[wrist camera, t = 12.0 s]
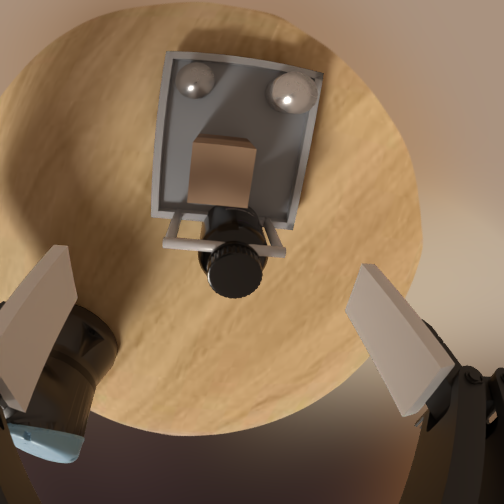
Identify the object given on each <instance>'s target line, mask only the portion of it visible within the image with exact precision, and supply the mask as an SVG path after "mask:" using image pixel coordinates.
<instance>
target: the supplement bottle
mask: <svg viewBox="0 0 504 504" xmlns="http://www.w3.org/2000/svg"><path fill="white" fill-rule="evenodd" d="M200 240H209V241H221V242H225V243H223V244H221V245H219V246H218V247H216V248H215V249H214V250H213V251H212V252H205V251H198V260H199V263H200V266H201V268H202V270H203V271H204V273H205V274H206V275H207V278H208V282H209V283H210V286H211V287H212V289H213V290H214V291H215V292H216V293H218V294H219V295H221V296H224V297H228V298H235V299H236V298H242V297H246V296H247V295H250V294H251V293H252V292H254V291H255V289H257V288H258V286H259V285H260V282H261V280H262V276H263V274H262V271H263V270H264V268H265V266H266V263H267V260H268V257H267V256H259V254H258V253H257V251H256V250H255V249H254V248H253V247H251V246H250V245H248V244H256V245H267V242H266V239H265V236H264V233H263V230H262V226H261V223H260V221H259V218H258V215H257V214H256V212H255V211H254V210H253V209H252V208H251V207H249V206H248V208H240V207H230V206H220V205H216V206H214V207H213V208H212V209H210V210H209V211H208V215H207V217H206V218H205V220H204V222H202V228H201V234H200Z"/></svg>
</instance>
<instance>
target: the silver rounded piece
mask: <svg viewBox="0 0 504 504" xmlns="http://www.w3.org/2000/svg"><path fill="white" fill-rule="evenodd" d="M265 97H266V101H267V103H268V104H269V105H270V107H271V108H273V109H274V110H276V111H278V112H284V113H292V114H301V113H305V112H307V111H309V110H310V109H311V108H312V107H313V106H314V105H315V103H316V101H317V98H318V90H317V86H316V84H315V82H314V81H313V80H312V79H311V78H310V77H309V76H308V75H306V74H304V73H301V72H288V73H286V74H283V75H281V76H279V77H277V78H275V79H273V80H272V81H270V82H269V84H268V85H267V87H266V90H265Z"/></svg>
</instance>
